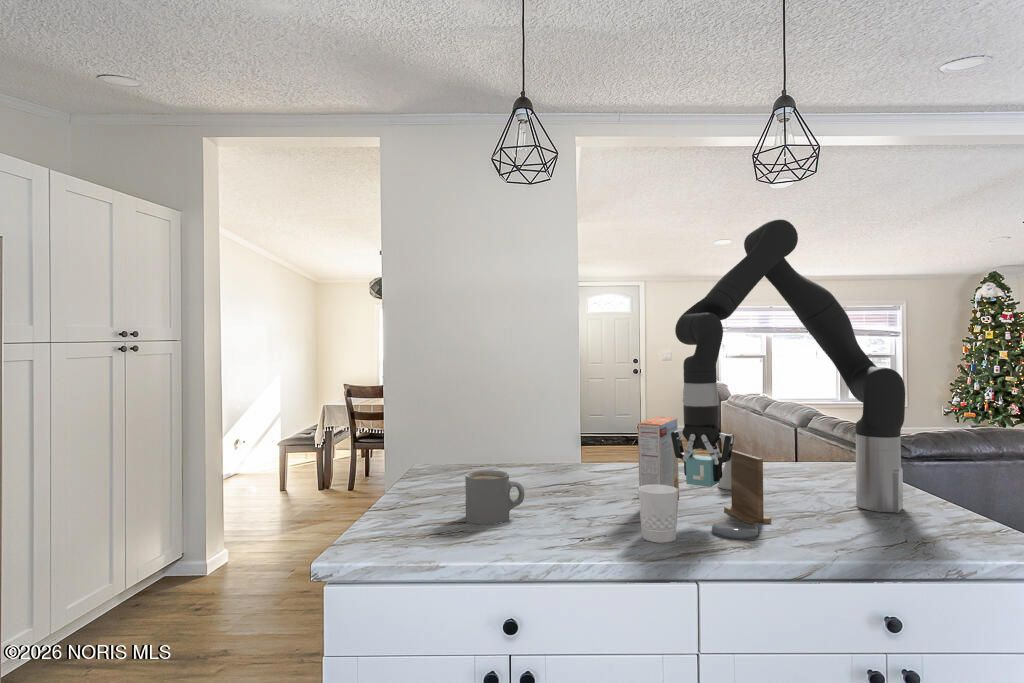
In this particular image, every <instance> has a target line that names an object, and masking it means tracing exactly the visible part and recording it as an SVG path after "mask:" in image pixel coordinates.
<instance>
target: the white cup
mask: <svg viewBox="0 0 1024 683" xmlns="http://www.w3.org/2000/svg"><path fill="white" fill-rule="evenodd" d="M638 501H639V503H638V504H639V519H640V524H641V525H640V526H641V538H642V539H644V540H645V541H648V542H651V543H659V544H660V543H661V544H662V543H664V544H666V543H671V542H674V541H676V539H677V538H676V537H677V533H676V532H677V525H678V524H677V523H678V510H679V508H678V507H679V501H678V489H677V488H675V487H672V486H668V485H644V486H640V487H639V486H638Z"/></svg>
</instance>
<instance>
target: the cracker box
mask: <svg viewBox="0 0 1024 683" xmlns="http://www.w3.org/2000/svg"><path fill="white" fill-rule="evenodd" d="M674 431H679V429H678V417H669V416H655V417H651V418H649V419H648V420H645V421H642V422H639V423H637V438H638V439H637V442H638V443H637V444H638V445H637V448H638V483H639V486H638V488H639V487H640V486H644V485H668V486H672V487H675V488H677V489H678V502H679V501H680V480H679V479H680V476H679V474H680V473H679V458H676V457H675V452H674V448H673V443H672V438H671V433H672V432H674Z"/></svg>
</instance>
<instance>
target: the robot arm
mask: <svg viewBox="0 0 1024 683" xmlns="http://www.w3.org/2000/svg"><path fill="white" fill-rule="evenodd" d="M798 240H799V235H798V231H797V229H796V227H795V226H794V225H793V223H791V222H790V221H788V220H786V219H784V218H783V219H782V218H776V219H772V220H770V221H769V220H768V222H765V223H764V224H763V225H761V226H759V227H757V228H756V229H754V230H753V231H751V232H750V233H748V234H747V236H746V237H745V238H744V241H743V247H744V251H745V254H746V256H745V257H743V258H742V260H740V261H739V262H738V263H737V264H736V265H735V266H733V267H732V268H730V270H729V271H727V272H726V273H725V274H724V275H723V276H722V277H721V278H720V279H719V280H718V281H717V283H715V285H714V286H713V287H712V288H711V289H710V291H709V292H708V293H707V294H706V295H705V296H704V297H703V298H702V299H700V300H698V302H696V303H694V304H693V305H692V306H691V307H690V308H688V309H687V310H686V311H684V313H682V314H681V315H680V316H679V318H678V320H677V322H676V324H675V328H674V330H675V336H676V339H677V340H678V341H679V342H681V343H682V344H684V345H689V346H695V350H694V354H692V355H689V356H687V357H686V358H685V359H684V360H683V364H682V366H683V367H682V368H683V388H682V389H683V390H682V403H683V404H682V406H683V425H684V426H683V429H682V430H678V431H674V432H672V433H671V438H672V443H673V448H674V452H675V457H676V458H678V459H680V460H682V461H683V472H684V476H685V477H686V459H687V458H690V457H692V456H695V455H694V454H695V452H696V451H697V450H700V449H701V450H704V451H707V453H708V454H709V456H710V457H711V458H712V460H713V463H714V465H713V480H714V481H715V482H718V481H719V480H720V479H721V478H722V472H723V464H725V462H727V461H729V460H730V459H731V454H732V450H733V449H734V448H733V446H734V442H735V435H734V434H732V433H731V434H728V433H727V434H726V433H723V432H722V431H721V429H720V408H719V404H720V403H719V390H718V383H717V382H718V381H717V380H718V379H717V362H718V358H719V354H720V350H721V346H722V343H723V337H724V328H723V324H722V321H723V320H726V319H728V318H729V317H730V316H732V314H733V313H734V312H735V311H736V310H737V309H738V308H739V306H740V305H741V304H742V303H743V301H744V300H745V299H746V297H747V296H748V295H749V294H750V293H751V292H752V291H753V289H754V288H755V287H756V286H757V285H758V283H759V282H760V281H761V280H762V279H763V278H764V277H765V278H766V279H767V280H768V281H769V283H770V284H772V286H773V287H774V288H775V289H776V290H777V292H778V293H779V295H780V296H781V297H782V298H783V300H784V301H785V302H786V303H787V305H788V306H789V307H790V308H791V310H792V311H793V312H794V314H795V315H796V317H797V318H798V320H799V321H800V323H801V324H802V325H803V327H804V328H805V329H806V331H807V332H808V333H809V334H810V336H811V337H812V338H813V340H815V342H816V343H817V345H818V346H819V347H820V349H822V351H823V352H824V353H825V354H826V355H827V357H828V359H830V361H831V362H832V364H833V365H834V367H835V368H836V369H837V372H838V373H839V375H840V376H841V378H842V379H843V381H844V383H845V385H846V387H847V388H848V390H849V391H850V392H849V393H850V394H851V395H852V396H853V397H854V398H855V399H856V400H858V401H859V402H861V403H863V404H862V415H861V418H860V419H858V421H856V423H855V492H856V493H855V500H856V501H855V503H856V506H857V507H858V508H859V509H864V510H867V511H871V512H873V511H874V512H881V513H895V514H896V513H898V514H899V513H901V511H902V509H903V508H904V494H903V493H904V489H903V488H904V487H903V486H904V484H903V477H904V476H903V467H902V465H901V464H902V459H901V458H902V455H901V454H902V450H901V448H902V447H901V433H902V432H901V431H902V427H903V425H904V423H905V411H906V410H905V409H906V406H905V405H906V386H905V381H904V379H903V377H902V375H901V374H900V373H899V372H897V371H896V370H894V369H892V368H889V367H884V366H883V367H882V366H877V365H876V364H875V363H874V362H873V361H872V360H871V359H870V358H869V357H868V355H867V354H866V353H865V352H864V351H863V349H862V348H861V347H860V344H859V342H858V341H857V338H856V335H855V332H854V328H853V325H852V322H851V320H850V318H849V316H848V314H847V312H846V310H845V309H844V308H843V306H842V305H841V304H840V302H839V301H838V300H837V298H836V297H835V296H834V295H833V294H832V293H831V291H829V290H828V289H826V288H825V287H823V286H821V285H819V283H816V282H814V281H812V280H810V279H809V278H806V277H805V276H803V275H802V274H800V273H799V272H798V271H796V270H795V269H794V267H792V265H790V263H789V261H788V260H787V259H786V257H787V256H789V255H790V254H791V253H792V252H794V250H795V249H796V247H797V244H798V242H799V241H798ZM684 438H685V440H686V441H687V445H686V446H685V449H684V446H683V439H684ZM720 439H721V443H722V444H723V447H722V452H721V453H722V454H721V453H720V449H719V445H718V441H719V440H720Z"/></svg>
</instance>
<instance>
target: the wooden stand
mask: <svg viewBox="0 0 1024 683" xmlns="http://www.w3.org/2000/svg"><path fill="white" fill-rule="evenodd" d="M730 491H731V492H730V493H731V506H723V508H724V509H723V511H724V512H725V513H726V514H727V513H728V514H729V515H731V516H733V517H735V518H737V519H739V520H741V521H742V522H745V523H746V524H749V525H760V523H762V524H771V523H772V517H769V516H767V515H765V514H764V459H763V458H761V457H757V456H754V455H750V454H747V453H743V452H741V451H739V450H734V451H732V454H731V490H730Z"/></svg>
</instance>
